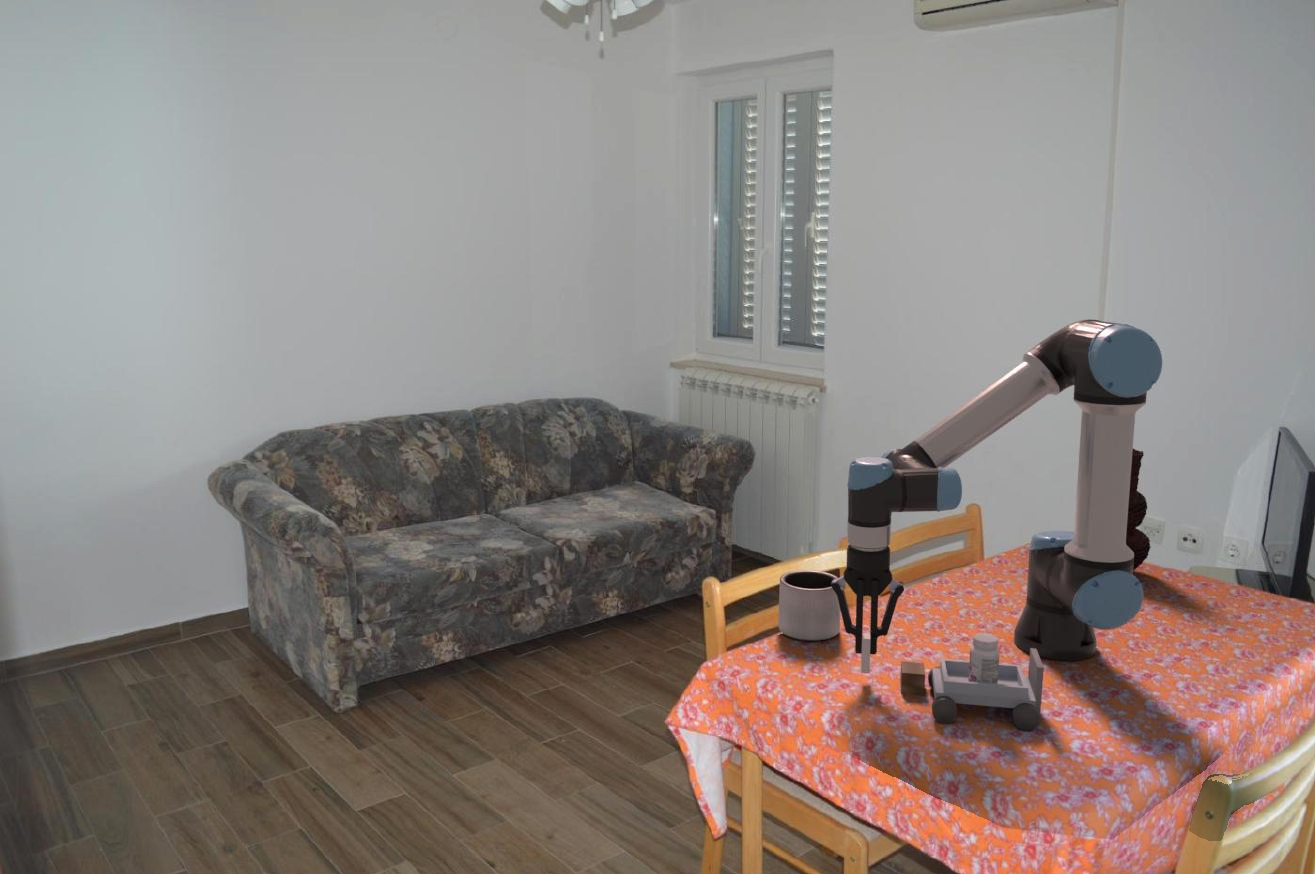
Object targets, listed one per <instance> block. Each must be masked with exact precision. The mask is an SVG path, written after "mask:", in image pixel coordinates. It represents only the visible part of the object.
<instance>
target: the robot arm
mask: <svg viewBox="0 0 1315 874" xmlns="http://www.w3.org/2000/svg"><path fill="white" fill-rule="evenodd" d="M1162 370H1163V355H1162V352H1161V349H1160V346H1159V345H1158V343H1157V342H1156V340H1155V339H1154V338H1153V337H1152V336H1151V335H1150V334H1149V333H1147V332H1146V331H1144V330H1142V329H1140V328H1137V327H1135V326H1133V325H1129V324H1126V323H1119V322H1118V323H1117V322H1111V321H1110V322H1109V321H1102V320H1098V319H1090V318H1089V319H1082V320H1078V321H1075V322H1074V321H1073V322H1072V323H1070V324H1067V325H1065V326H1064V327H1061V328H1060V329H1059V330H1057V331H1055V332H1053V333H1052V334H1050V335H1049V336H1047V337H1046V338H1044V339H1043V340H1041V342H1039V343H1037V344H1036V345H1035V346H1033V347H1032V348H1031V349H1029V350H1028V351H1027V352H1025V353H1024V354H1023V357H1022V362H1020V363H1019V364H1018V365H1017V366H1015V367H1014V368H1012V369H1011V370H1010V371H1008V372H1007V373H1005V374H1004V375H1002V377H1000V378H999V379H997V380H996V381H994V382H993V383H992V384H990V385H988V386H987V387H986V388H985V389H983V390H982V391H981V392H980V393H978V394H976V395H975V396H974V397H973V398H971V399H969V400H968V401H966V402H965V403H964V404H963V405H961V406H960V407H959V408H957V409H955V410H954V411H953V412H951V414H949V415H948V416H946V417H945V418H944V419H942V420H941V421H939V422H938V423H937V424H935V425H933V426H932V427H930V429H928V430H927V431H925V432H924V433H923V434H921V435H920V436H919V437H917V438H916V439H915V440H913V441H912V442H910V443H908V444H907V445H906V446H904V447H903V448H893V449H889V450H887V451H885V452H884V453H883V454H882V455H881V456H880V457H878V456H877V457H875V456H862V457H857V458H855V459H853V460H852V461H851V462H850V465H849V468H848V469H849V470H848V481H847V493H848V494H847V499H848V500H847V523H846V524H847V525H846V526H847V527H846V529H847V530H846V532H847V533H846V534H847V535H846V542H847V544H848V545H847V546H846V567H845V570H844V571H843V575H842V576H840V577H838V579H833V580H832V589H833V590H834V592H835V593H836V595H837V597H838V601H839V606H840V615H841V617H842V621H843V627H844V630H845V633H846V634H848V635H849V634H851V635H853V636H854V637H855V639H854V640H855V641H854V644H855V645H854V646H855V647H854V651H855V654H861V662H860V664H861V666H860V673H861V674H862V673H863V674H870V673H871V671H870V669H871V655H877V651H878V648H877V646H878V638H879V637H881V636H887V635H888V633H889V629H890V626H891V623H892V620H893V616H894V613H895V609H896V608H897V607H896V606H897V603H898V599H899V598H900V597H901V595H902V594H903V593H904V591H905V585H904V582H903V581H898V580H896V579H895V578H893V575H892V572H891V569H890V568H891V567H890V566H891V548H890V547H889V546H890V545H891V534H892V513H909V512H911V513H913V512H938V513H940V512H944V511H945V512H946V511H950V510H951V511H952V510H955V509H957V508H958V507H959V505H960V503H961V501H962V496H963V485H962V479H961V476H960V474H959V472H958V471H957V470H956V469H955V468H953V467H949V465H951V464H952V463H953V462H955V461H957V460H958V459H959V458H961V457H962V456H963V455H965V454H966V453H968V452H969V451H971V450H972V449H973V448H975V447H976V446H978V445H979V444H980V443H982V442H983V441H985V440H986V439H988V438H989V437H990V436H992V435H993V434H994V433H996V432H997V431H999V430H1000V429H1001V428H1002V427H1004V426H1006V425H1007V424H1008V423H1010V422H1011V421H1013V420H1014V419H1015V418H1017V417H1018V416H1020V415H1021V414H1023V413H1024V412H1025V411H1027V410H1028V409H1030V408H1031V407H1032V406H1033V405H1035V404H1037V403H1038V402H1039V401H1041V400H1042V399H1044V398H1045V397H1046V396H1048V395H1053V396H1058V395H1059V394H1060V393H1062V392H1063V391H1064V390H1066V389H1069V388H1070V387H1072V386H1073V402H1074V403H1076V404H1077V406H1078V407H1079V408H1080V409H1081V421H1080V422H1081V423H1080V437H1079V452H1078V454H1079V455H1078V468H1077V469H1078V470H1077V484H1076V485H1077V486H1076V500H1075V501H1076V502H1075V515H1074V516H1075V517H1074V531H1066V530H1048V531H1047V530H1045V531H1039V532H1036V533H1035V534H1033V535H1032V536H1031V540H1030V543H1029V544H1030V545H1029V549H1028V553H1029V555H1028V556H1029V557H1028V570H1027V582H1026V583H1027V586H1026V600H1025V601H1026V602H1025V606H1024V607H1023V610H1022V612H1021V614H1020V616H1019V619H1018V621H1017V623H1016V626H1015V629H1014V633H1013V634H1014V635H1013V642H1014V644H1015V645H1016V646H1017V647H1018V648H1019V649H1020V650H1022V651H1024V652H1026V653H1029V654H1030V648H1034V649H1037V652H1038V654H1039V657H1040V658H1044V659H1049V660H1055V661H1071V662H1073V661H1082V660H1086V659H1090V658H1091V657H1093V656H1094V655H1096V652H1097V637H1096V633H1095V629H1098V630H1105V631H1106V630H1108V631H1109V630H1115V629H1118V628H1121V627H1123V626H1125V625H1126V624H1128V622H1129V621H1131V620H1133V619H1134V618H1135V617H1136V616H1137V614H1138V613H1139V612H1140V610H1141V608H1142V606H1143V602H1144V596H1145V594H1144V593H1145V592H1144V588H1143V586H1142V584H1141V582H1140V580H1139V578H1137V577H1136V576H1135V574H1134V570H1133V564H1134V552H1133V551H1132V550H1131V549H1130V548H1129V547H1128V546H1127V545H1126V531H1127V518H1128V504H1129V491H1130V478H1131V464H1132V451H1133V449H1134V438H1135V437H1134V436H1135V435H1134V434H1135V423H1136V413H1137V412H1138V410H1140V409H1141V408H1142V407H1143V406H1145V405H1146V404H1147V395H1148V393H1147V392H1148V391H1150V390H1151V389H1152V387H1153V385H1154V384H1157V381H1158V380H1159V378H1160V376H1161V373H1162ZM846 584H847V585H848V587H849V588H850V589H851V591H852V592H853V594H855V595H856V602H855V603H856V605H855V607H856V608H855V624H853V622H852V617H851V613H850V610H849V609H850V608H849V604H848V601H847V597H846V592H845V589H846ZM888 586H889V592H890V594H889V598H888V599H887V600H888V601H887V604H886V607H885V611H884V614H883V618H882V621H881V625H879V626H878V624H879V623H878V622H879V621H878V620H879V619H878V615H879V614H878V613H879V612H878V611H879V596H880V595H881V594H883V592H884V591H885V590H886V589H887V587H888ZM864 597H870V624H869V625H870V627H869V629H870V630H869V633H868V632H863V628H864V627H863V626H864V625H863V624H864V623H863V622H864V621H863V619H864Z"/></svg>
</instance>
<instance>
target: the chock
mask: <svg viewBox="0 0 1315 874" xmlns="http://www.w3.org/2000/svg"><path fill="white" fill-rule="evenodd" d="M900 664H901V665H900V676H899V677H900V679H899V685H900V693H901V694H905V695H907V694H908V695H909V694H910V695H918V696H925V684H926V669H925V663H924V662H915V661H906V660H905V661H902V660H901V661H900Z"/></svg>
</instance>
